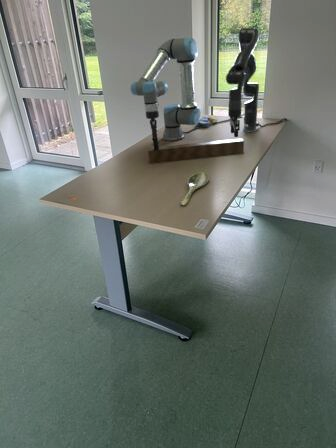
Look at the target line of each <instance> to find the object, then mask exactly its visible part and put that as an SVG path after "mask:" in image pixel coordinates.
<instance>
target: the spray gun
mask: <svg viewBox="0 0 336 448" xmlns="http://www.w3.org/2000/svg"><path fill="white" fill-rule="evenodd" d="M215 122H218V119H217V118H216V117H214V116H213V117H212V116H211V117H210V116H208V115H207V116H201V117H200V119H199V121H198V123H197V124H196V125H195V126H197V127H200V126H203V127H202V128H207V127H210V126H212V125H211V123H215Z"/></svg>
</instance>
